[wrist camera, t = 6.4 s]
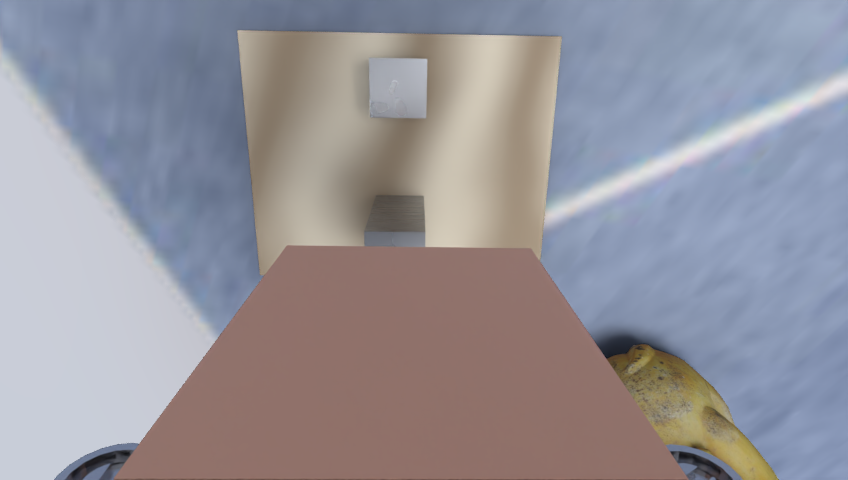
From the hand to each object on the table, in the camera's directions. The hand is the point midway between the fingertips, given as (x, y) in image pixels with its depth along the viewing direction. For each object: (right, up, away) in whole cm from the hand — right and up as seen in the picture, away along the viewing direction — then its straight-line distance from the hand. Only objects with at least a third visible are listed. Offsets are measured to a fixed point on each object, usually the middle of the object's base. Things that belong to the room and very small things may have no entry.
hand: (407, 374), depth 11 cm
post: (-1, +4, +18) cm, 18 cm away
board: (-1, +7, +17) cm, 18 cm away
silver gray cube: (-1, +11, +16) cm, 19 cm away
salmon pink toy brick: (0, 0, +1) cm, 1 cm away
